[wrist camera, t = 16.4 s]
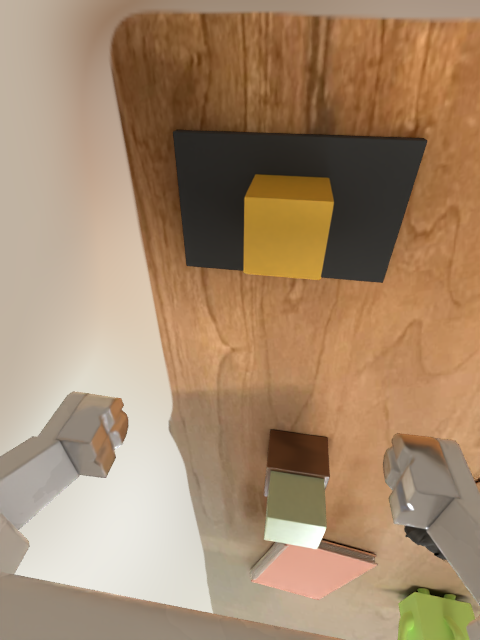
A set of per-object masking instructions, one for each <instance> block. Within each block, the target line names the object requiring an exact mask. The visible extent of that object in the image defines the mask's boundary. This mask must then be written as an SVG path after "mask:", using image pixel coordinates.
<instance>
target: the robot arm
mask: <svg viewBox="0 0 480 640" xmlns="http://www.w3.org/2000/svg"><path fill="white" fill-rule="evenodd" d="M123 406H124V404H123V402H122V399H121V398H115V397H108V396H101V395H95V394H89V393H81V392H72V393H70V394H69V395H67V397H66V398H65V399H64V401H63V402H62V404H61V405H60V407H59V408H58V409H57V411H56V412H55V413H54V415H53V416H52V418H51V419H50V420H49V422H48V423H47V424H46V426H45V427H44V429H43V430H42V431H41V433H40V434H39V436H38V437H32V438H30V439H28V440H26V441H25V442H23V443H21V444H20V445H18V446H17V447H15V448H13V449H12V450H10V451H9V452H7V453H5V454H4V455H2V456H0V640H344V639H339V638H334V637H329V636H324V635H319V634H314V633H309V632H304V631H298V630H293V629H288V628H283V627H278V626H273V625H268V624H263V623H258V622H253V621H248V620H243V619H238V618H232V617H227V616H222V615H217V614H212V613H207V612H202V611H197V610H192V609H187V608H182V607H177V606H171V605H166V604H161V603H156V602H151V601H146V600H141V599H136V598H130V597H126V596H121V595H115V594H111V593H106V592H100V591H95V590H90V589H85V588H80V587H75V586H70V585H65V584H60V583H55V582H50V581H45V580H39V579H34V578H29V577H24V576H19V575H14V573H15V572H16V570H17V568H18V566H19V564H20V562H21V561H22V559H23V557H24V555H25V554H26V552H27V550H28V548H29V541H28V540H27V539H26V538H25V537H24V536H23V535H22V534H21V533H20V532H19V531H18V530H19V529H20V528H21V527H23V525H25V524H26V523H27V522H28V521H29V520H30V519H32V518H33V517H34V516H35V515H36V514H37V513H38V512H39V511H41V510H42V509H43V508H44V507H45V506H46V505H47V504H49V502H51V501H52V500H53V499H54V498H55V497H56V496H58V495H59V494H60V493H61V492H62V491H63V490H64V489H65V488H67V487H68V486H69V485H70V484H71V483H72V482H73V481H74V480H76V479H77V478H78V477H79V475H86V476H94V477H101V478H106V477H107V475H108V472H109V470H110V468H111V466H112V464H113V462H114V460H115V458H116V456H115V451H114V450H115V449H116V448H118V447H119V446H120V445H122V443H123V441H124V439H125V437H126V434H127V429H128V417H127V414H126V413H125V412H123V411H122V408H123ZM392 444H393V446H392V447H390V448H388V449H387V450H386V453H385V455H384V461H383V471H384V477H385V482H386V483H387V485H388V486H389V487H390V488H391V489H392V490H393V491H392V493H391V495H390V497H389V502H390V507H391V511H392V516H393V521H394V523H395V524H400V525H406V526H411V527H417V528H422V529H427V533H428V534H429V535H430V537H431V538H432V540H433V541H434V542H435V544H436V545H437V547H438V548H439V549H440V551H441V552H442V554H443V555H444V556H445V558H446V559H447V561H448V562H449V563H450V565H451V566H452V568H453V569H454V570H455V572H456V573H457V575H458V576H459V578H460V579H461V580H462V582H463V583H464V585H465V586H466V587H467V589H468V590H469V592H470V593H471V594H472V596H473V597H474V599H475V600H476V601H477V603H478V604H479V606H480V493H479V490H478V488H477V486H476V483H475V481H474V479H473V476H472V474H471V472H470V469H469V467H468V465H467V462H466V460H465V458H464V455H463V453H462V451H461V448H460V446H459V444H458V443H457V442H456V441H454V440H448V439H438V438H433V437H427V436H418V435H409V434H400V433H397V434H395V435H394V436H393V438H392ZM466 629H467V632H468V636H469V639H470V640H480V616H479V617H478V618H476V619H474V620H472V621H471V622H470V623H469V624H468V625H467V627H466Z"/></svg>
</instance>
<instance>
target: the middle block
mask: <svg viewBox="0 0 480 640" xmlns="http://www.w3.org/2000/svg"><path fill="white" fill-rule="evenodd" d="M325 530H326V504H325V481H324V479H321V478H315V477H309V476H302V475H296V474H289V473H283V472H277V471H271V474H270V482H269V490H268V499H267V510H266V521H265V532H264V540H269V541H274V542H280V543H285V544H291V545H296V546H302V547H307V548H312V549H318V547H319V544H320V542H321V539H322V537H323V535H324V532H325Z"/></svg>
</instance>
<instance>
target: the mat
mask: <svg viewBox="0 0 480 640" xmlns="http://www.w3.org/2000/svg"><path fill="white" fill-rule="evenodd" d="M173 137H174V147H175V157H176V166H177V176H178V186H179V196H180V206H181V215H182V225H183V235H184V245H185V254H186V264H187V266H194V267H206V268H217V269H229V270H241V271H243V267H244V197H245V195H246V193H247V191H248V189H249V187H250V185H251V183H252V180H253V178H254V176H255V175H256V174H258V175H279V176H300V177H321V178H329V179H330V184H331V189H332V194H333V199H334V206H333V212H332V217H331V223H330V229H329V234H328V240H327V245H326V251H325V257H324V262H323V268H322V274H321V277H322V278H334V279H346V280H357V281H369V282H381V283H383V280H384V277H385V274H386V271H387V268H388V265H389V261H390V258H391V255H392V252H393V249H394V245H395V242H396V239H397V236H398V233H399V230H400V226H401V223H402V220H403V217H404V214H405V211H406V207H407V204H408V201H409V198H410V195H411V191H412V188H413V185H414V182H415V179H416V176H417V172H418V169H419V166H420V163H421V160H422V157H423V153H424V150H425V147H426V144H427V140H426V139H424V138H403V137H373V136H344V135H314V134H285V133H256V132H226V131H197V130H176V131H174V132H173Z"/></svg>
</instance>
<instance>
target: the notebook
mask: <svg viewBox="0 0 480 640" xmlns="http://www.w3.org/2000/svg"><path fill="white" fill-rule="evenodd" d="M276 546H277V547H276ZM275 547H276V548H275ZM375 557H376V555H374V554H371V553H367V552H364V551H360V550H356V549H353V548H349V547H346V546H342V545H338V544H335V543H331V542H328V541H324V540H321V542H320V544H319V547H318V549H312V548H307V547H302V546H296V545H291V544H285V543H280V542H276V543H275V544H274V545H273V546H272V547H271V548H270V549H269V550H268V552H267V553H266V554H265V555H264V556H263V557H262V558H261V559H260V561H259V562H258V563H257V564H256V565H255V566H254V567H253V568H252V569H251V571H250V574H252V575H250V577H251V579H252V580H251V581H252V582H255V583H259V584H262V585H266V586H270V587H273V588H277V589H281V590H284V591H288V592H292V593H295V594H299V595H302V596H306V597H310V598H313V599H317V600H320V599H321V598H323V597H325V596H326V595H328V594H330V593H331V592H333V591H335V590H336V589H338V588H340V587H342V586H343V585H345V584H347V583H348V582H350V581H352V580H353V579H355V578H357V577H358V576H360V575H362V574H363V573H365V572H367V571H369V570H370V569H372V568H374V567H375V566H377V565H378V564H377V563H374V562H375V560H374V558H375Z"/></svg>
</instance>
